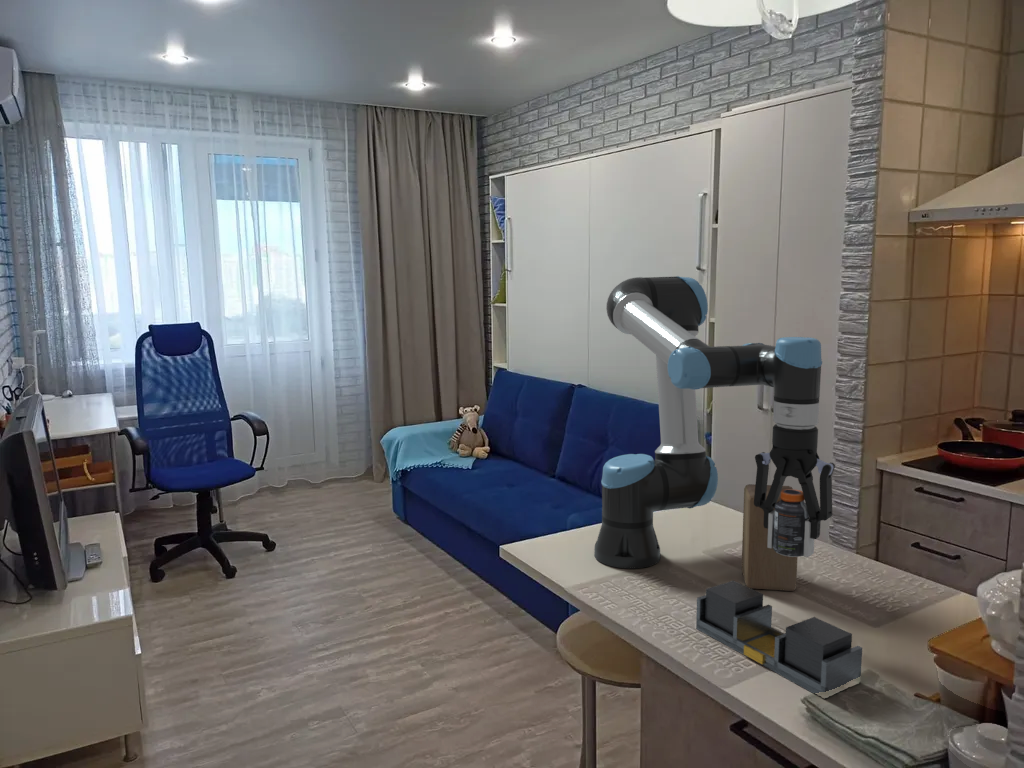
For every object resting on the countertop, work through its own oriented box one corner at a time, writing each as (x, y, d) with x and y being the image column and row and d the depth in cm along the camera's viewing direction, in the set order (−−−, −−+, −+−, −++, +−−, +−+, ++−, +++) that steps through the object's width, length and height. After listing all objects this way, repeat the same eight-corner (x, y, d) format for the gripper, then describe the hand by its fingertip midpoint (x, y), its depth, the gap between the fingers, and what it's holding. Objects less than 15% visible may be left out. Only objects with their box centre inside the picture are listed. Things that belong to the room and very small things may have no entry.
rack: (694, 629, 136) (695, 588, 135) (730, 617, 141) (731, 577, 139) (822, 700, 113) (825, 651, 112) (860, 683, 117) (863, 635, 116)
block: (796, 593, 151) (801, 498, 148) (745, 589, 153) (748, 496, 150) (788, 574, 160) (792, 484, 158) (740, 570, 162) (743, 482, 160)
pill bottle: (815, 554, 133) (818, 493, 131) (792, 560, 130) (794, 498, 128) (788, 543, 138) (791, 485, 136) (765, 549, 135) (768, 489, 133)
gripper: (735, 421, 134) (731, 543, 137) (843, 435, 121) (836, 569, 125) (753, 415, 140) (749, 533, 143) (858, 428, 127) (851, 557, 130)
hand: (790, 550), depth 134 cm, fingers closed on pill bottle, 6 cm apart
